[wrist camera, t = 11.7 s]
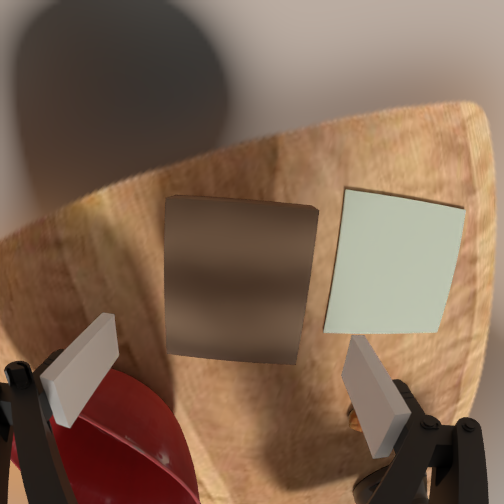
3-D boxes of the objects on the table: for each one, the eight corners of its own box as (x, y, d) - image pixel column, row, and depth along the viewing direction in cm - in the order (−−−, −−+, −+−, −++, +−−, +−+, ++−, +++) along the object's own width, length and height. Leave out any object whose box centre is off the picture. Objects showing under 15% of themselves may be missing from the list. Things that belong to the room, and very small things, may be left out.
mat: (435, 331, 34) (436, 332, 34) (323, 331, 34) (323, 332, 34) (464, 209, 30) (465, 209, 30) (345, 189, 30) (345, 189, 30)
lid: (292, 346, 28) (295, 364, 25) (174, 336, 28) (166, 353, 25) (311, 205, 25) (319, 210, 22) (175, 194, 25) (165, 198, 22)
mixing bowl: (66, 440, 41) (33, 497, 26) (23, 305, 34) (-47, 357, 19) (214, 474, 42) (205, 549, 27) (219, 339, 35) (200, 439, 20)
